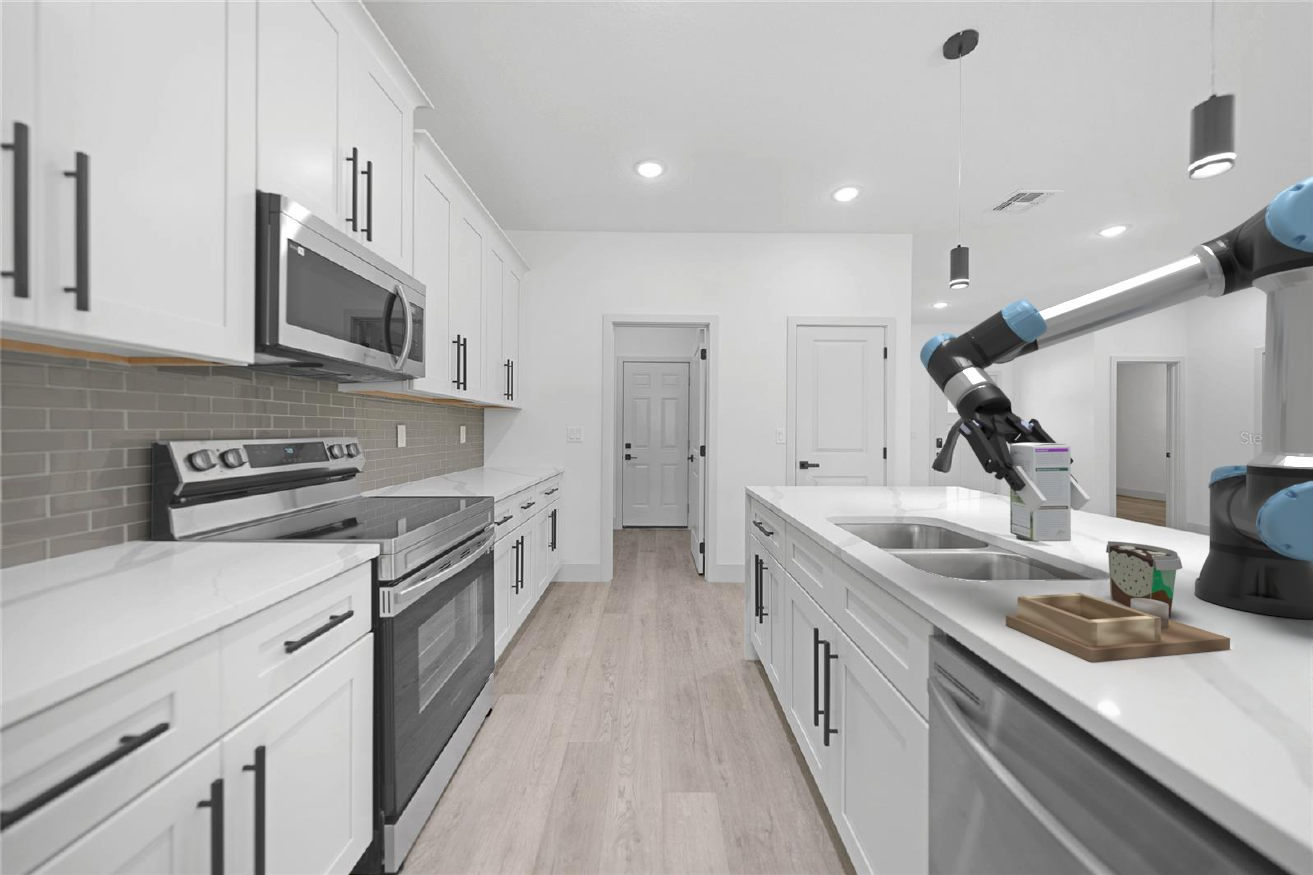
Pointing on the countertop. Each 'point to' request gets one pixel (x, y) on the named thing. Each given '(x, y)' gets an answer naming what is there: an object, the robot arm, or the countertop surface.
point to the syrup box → (1043, 492)
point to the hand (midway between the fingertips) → (1060, 505)
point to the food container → (1141, 572)
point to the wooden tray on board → (1109, 627)
